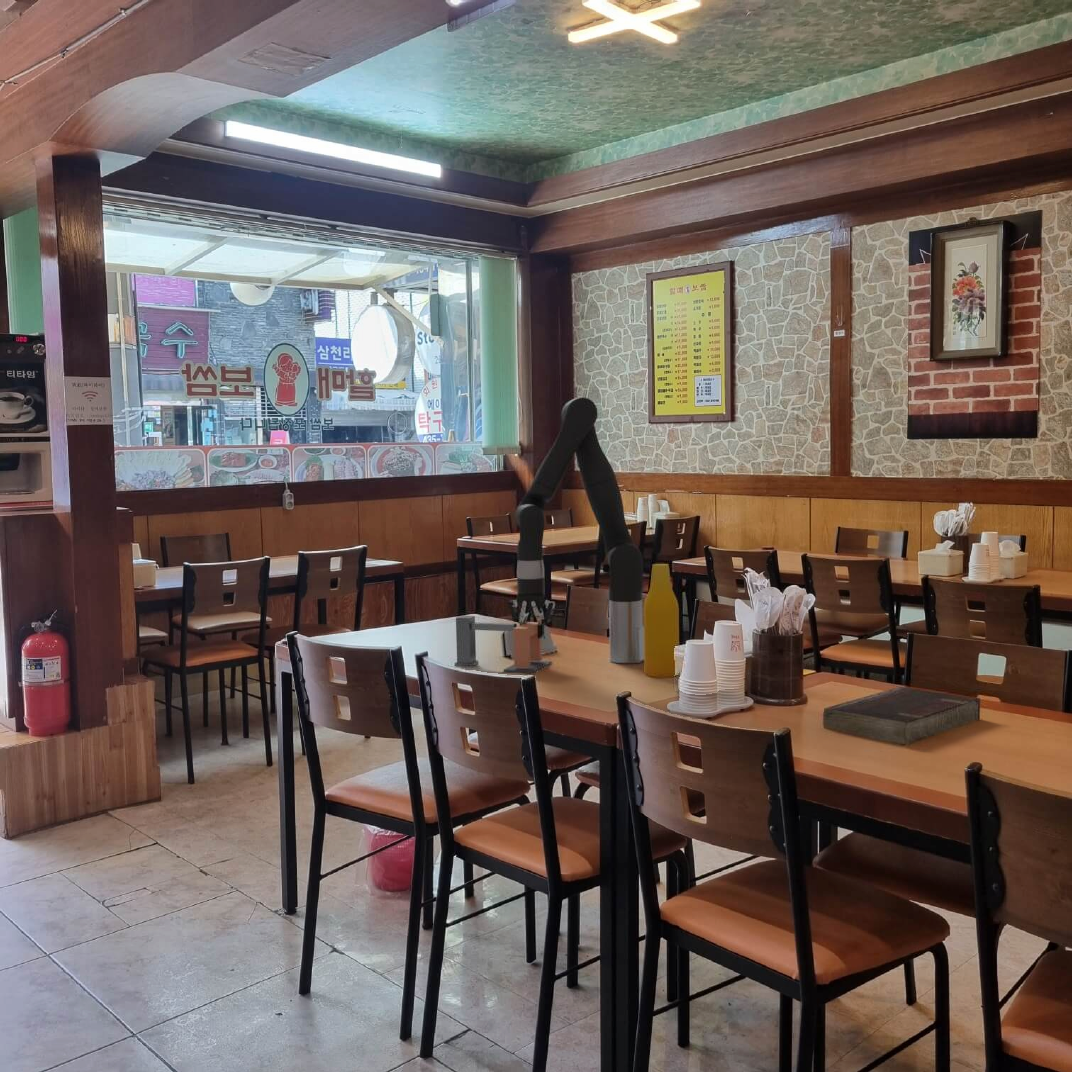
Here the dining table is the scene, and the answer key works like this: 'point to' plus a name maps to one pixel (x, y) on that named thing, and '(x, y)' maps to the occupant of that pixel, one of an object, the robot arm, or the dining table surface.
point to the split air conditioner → (508, 643)
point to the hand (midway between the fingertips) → (532, 637)
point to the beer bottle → (660, 625)
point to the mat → (532, 669)
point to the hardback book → (902, 715)
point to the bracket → (472, 637)
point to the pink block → (527, 644)
